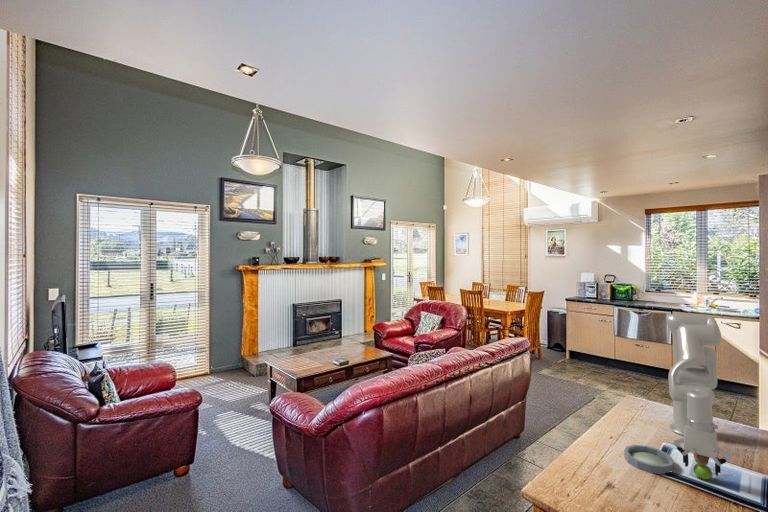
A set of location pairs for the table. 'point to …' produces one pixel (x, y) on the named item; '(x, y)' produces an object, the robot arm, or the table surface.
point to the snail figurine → (702, 466)
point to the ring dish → (648, 459)
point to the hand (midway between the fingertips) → (701, 469)
